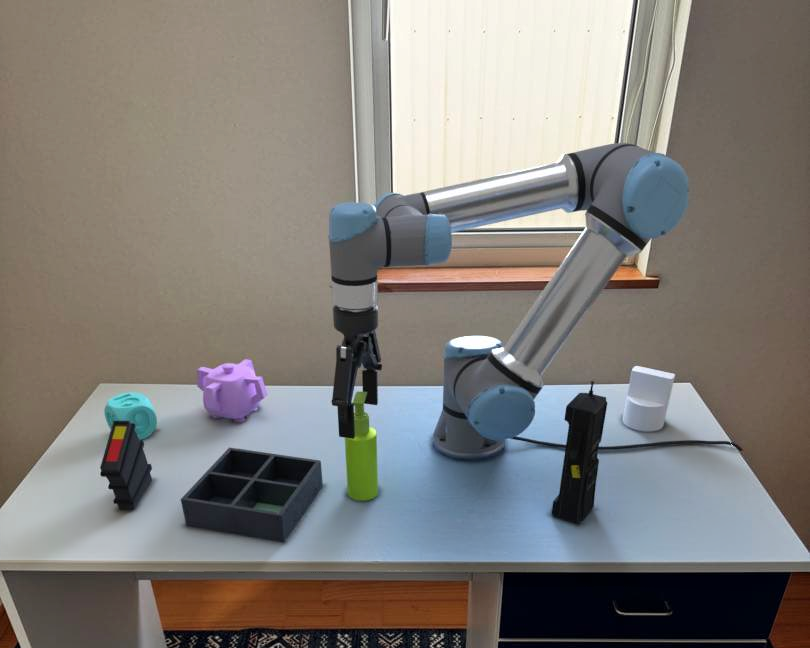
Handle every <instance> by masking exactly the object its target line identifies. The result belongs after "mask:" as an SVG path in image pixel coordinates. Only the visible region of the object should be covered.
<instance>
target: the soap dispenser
mask: <svg viewBox="0 0 810 648" xmlns="http://www.w3.org/2000/svg"><path fill="white" fill-rule="evenodd" d="M366 396H367V392H363V391H356V392H355V394H354V397H353V399H352V403H354V425H355V437H354V439H351V438H344V449H345V450H344V451H345V466H346V485H347V494H348V497H349V498H351V499H352V500H355V501H360V502H362V501H363V502H364V501H365V502H366V501H370V500H373V499H374V498H376V497H377V496H378V494H379V481H378V480H379V478H378V474H379V473H378V442H377V430H376V429H375V428H373V427H371V426H370V415H369V414H368V413H367V412H365V404H364V402H365V398H366Z"/></svg>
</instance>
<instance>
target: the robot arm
mask: <svg viewBox="0 0 810 648" xmlns="http://www.w3.org/2000/svg"><path fill="white" fill-rule="evenodd" d="M689 200H690V182H689V178H688V175H687V173H686V172H685V170H684V168H683V167H682V166H681V165H680V163H678V162H677V161H675V160H673V159H672V158H670V157H669V156H667V155H665V154H664V153H661V152H655V151H652V150H648V149H646V148H643V147H641V146H639V145H637V144H633V143H630V142H629V143H628V142H617V143H609V144H604V145H600V146H599V145H598V146H595V147H590V148H588V149H587V148H586V149H583V150H579V151H575V152H570V153H565V154H561V156H560V157H559V158H558V160H557V161H556V162H553V163H549V164H544V165H540V166H535V167H531V168H526V169H522V170H516V171H512V172H508V173H503V174H497V175H494V176H489V177H484V178H480V179H476V180H471V181H466V182H462V183H457V184H452V185H447V186H443V187H439V188H434V189H430V190H425V191H421V192H414V193H410V194H406V195H404V194H401V193H396V192H388V193H385V194H382V195H381V196H380V197H379V198H378V199H377V200H376V202H375V203H374V205H373V204H370V203H368V202H367V203H366V202H356V201H350V202H349V201H348V202H341V203H338V204H335V205H334V206H332V207H331V209H330V210H329V213H328V235H327V237H328V245H329V246H328V247H329V261H330V262H329V263H330V276H331V282H330V283H329V284H328V285H329V288H330V289H331V292H332V294H331V296H332V304H333V305H334V306H333V307H332V319H333V321H332V322H333V327H334V329H335V330H336V331H337V332H339V333H341V334H342V335H343V340H342V342H341V345H336V348H335V355H336V358H335V359H336V360H335V369H334V379H333V389H332V397H331V398H332V399H331V406H333V407H337V423H338V424H337V425H338V426H337V427H338V437H339V438H344V439H345V438H351V439H354V437H355V425H354V413H355V406H354V403H353V398H354V397H353V396H354V390H355V385H356V380H357V374H358V370H359V368H361V367H362V366H363V370H362V371H361V377H362V379H361V381H362V392H367V396H366V398H365V402H364V405H365V404H366V405H371V406H378V405H379V395H378V394H379V393H378V392H379V391H378V390H379V389H378V371H382V369H383V364H382V363H381V362H382V357H381V351H380V347H379V341H378V337H377V333H376V330H377V328H378V327H379V307H378V306H377V304H378V302H379V288H378V287H379V284H378V283H379V282H378V269H379V268H395V267H413V266H414V267H416V266H417V267H418V266H426V267H428V266H432V265H437V264H444V263H446V262H447V261H448V260H449V258H450V256H451V253H452V245H453V236H452V235H453V233H456V232H460V231H466V230H470V229H474V228H480V227H484V226H488V225H493V224H496V223H497V224H498V223H501V222H506V221H510V220H516V219H521V218H524V217H529V216H534V215H538V214H543V213H547V212H553V211H556V210H563V211H564V212H565V213H567V214H571V213H576V212H581V211H585V213H584V217H585V219H584V220H585V228H584V230H583V231H582V233H581V234H580V235H579V237H578V239H577V240H576V242H575V243H574V245H572V247H571V249H570V250H569V252H568V254H567V255H566V256H565V258H564V259H563V261H562V262H561V264H560V265H559V266H558V267H557V269H556V271H555V273H554V274H553V275H552V276H551V278H550V280H549V281H548V283H547V284H546V286H545V287H544V288H543V290H542V291H541V293H540V294H539V296H538V297H537V298H536V300H535V301H534V303H533V305H532V306H531V307H530V309H529V310H528V311H527V313H526V315H525V316H524V318H523V319H522V320H521V322H520V324H518V326H517V327H516V329H515V331H514V332H513V334H512V335H511V337H510V338H509V339H508V341H507V343H506V344H505V345H504V344H503V342H502V341H501V340H499V339H498V338H495V337H492V336H485V335H468V336H467V335H466V336H460V337H456V338H453V339H451V340H449V341H447V343H446V344H445V347H444V354H443V356H442V358H443V379H442V380H443V382H442V385H443V386H442V410H441V413H440V414H439V415H440V416H439V418H438V421H437V423H436V425H435V428H434V431H433V437H432V439H433V440H432V443H433V447H434V448H435V450H436V451H437V452H439V453H440V454H442V455H443V456H445V457H449V458H451V459H455V460H460V461H482V460H486V459H487V460H488V459H490V458H493V457H495V456H497V455H498V454H500V453H501V452H502V451H503V449H504V447H505V442H506V440H507V439H510V440H515V441H520V442H524V443H529V444H530V443H531V444H535V445H540V446H546V447H554V448H562V449H566V444H562V443H554V442H547V441H540V440H535V439H532V438H531V439H530V438H527V437H526V438H525V437H521V436H519V435H521V434H522V433H523V432H525V431H526V430H527V429H528V428H529V427H530V425H531V424H532V423H533V420H534V419H535V415H536V402H535V399H536V397H538V395H539V393H540V392H541V391H542V389H544V387H545V384H544V375H543V374H544V372H545V371H546V370H547V368H548V367H549V365H551V364H552V361H553V360H554V359H555V357H556V355H557V354H558V353H559V352H560V350H561V349H562V347H563V346H564V345H565V343H566V342H567V340H568V339H569V338H570V336H571V335H572V334H573V332H574V331H575V330H576V328H577V327H578V325H579V324H580V322H581V321H583V319H584V317H585V315H586V314H587V313H588V312H589V310H590V309H591V307H593V304H594V303H595V302H596V300H597V299H598V297H599V296H601V293H602V292H603V291H604V289H605V288H606V286H607V285H608V283H609V282H610V281H611V279H612V278H613V277H614V275H615V274H616V272H617V271H618V270H619V268H620V267H621V266H622V264H623V263H624V262H625V260H626V259H627V258H628V257H630V256H634V255H639V254H641V253H642V252H643V251H644V249H645V248H646V246H647V245H649V243H650V241H651V239H658V238H660V237H662V236H666V235H667V234H669V233H671V231H673V230H674V229H676V227H677V225H678V224H679V223H680V222H681V220H682V219H683V217H684V215H685V213H686V211H687V208H688V204H689ZM730 442H731V443H730ZM689 444H690V445H693V444H696V445H726V446H727V445H728V446H732V445H733V446H732V447H734V448H736V449H737V450H738V451H739V452H743V451H744V449H743V448H742V447H741V446H740V445H739V444H738V443H736V442H733V441H729V440H701V439H699V440H698V439H696V440H695V439H693V440H692V439H691V440H689V439H688V440H687V439H686V440H685V439H684V440H669V441H667V440H666V441H657V442H648V443H647V442H646V443H637V444H635V443H634V444H627V445H612V446H611V445H610V446H608V445H607V446H599V448H598V451H611V450H612V451H613V450H627V449H638V448H648V447H649V448H650V447H658V446H666V445H667V446H668V445H669V446H670V445H689ZM731 444H732V445H731Z"/></svg>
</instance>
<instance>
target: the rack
mask: <svg viewBox="0 0 810 648" xmlns="http://www.w3.org/2000/svg"><path fill="white" fill-rule="evenodd" d="M322 471H323V470H322V460H319V459H314V458H313V459H312V458H305V457H300V456H299V457H298V456H290V455H284V454H278V453H271V452H263V451H258V450H250V449H243V448H236V447H230V446H229V447H228V448H227V449H226V450H225V451H224V452H223V453H222V455H221V456H219V458H217V460H216V461H215V462H214V463H213V464H212V465H211V466H210V467H209V468H208V469H207V471H205V473H203V475H201V477H200V478H198V480H197V481H196V482H195V483H194V484H193V485H192V486H191V487H190V488H189V490H188V491H187V492H186V493H185V494H184V495H183V496H182V497H181V498H180V503H181V508H182V512H183V517H184V521H185V525H186V527H193V528H198V529H205V530H209V531H215V532H221V533H227V534H233V535H239V536H245V537H251V538H257V539H261V540H267V541H268V540H269V541H275V542H280V543H285V542H286V541H287V539H288V538H289V536H290V535H291V534H292V532H293V530H294V529H295V528H296V526H297V525H298V523H299V522H300V520H301V519H302V517H303V516H304V514H305V513H306V511H307V510H308V509H309V507H310V506H311V504H312V503H313V501H314V499H315V498H316V497H317V495H318V494H319V492H320V490H322V488H323V486H324V484H323V472H322Z"/></svg>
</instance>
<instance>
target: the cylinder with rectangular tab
mask: <svg viewBox="0 0 810 648" xmlns="http://www.w3.org/2000/svg"><path fill="white" fill-rule="evenodd" d="M675 377H676V374H675V373H672V372H667V371H662V370H659V369H653V368H649V367H644V366H639V365H635V366H633V367H632V369H631V373H630V378H629V384H628V390H627V395H626V400H625V405H624V410H623V415H622V423H623V424H624V425H625V426H626V427H628V428H629V429H632V430H635V431H639V432H645V433H646V432H647V433H651V432H657V431H659V430H662V428H663V427H664V426H665V421H666V417H667V413H668V409H669V408H668V407H669V404H670V399H671V395H672V389H673V386H674V382H675Z"/></svg>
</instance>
